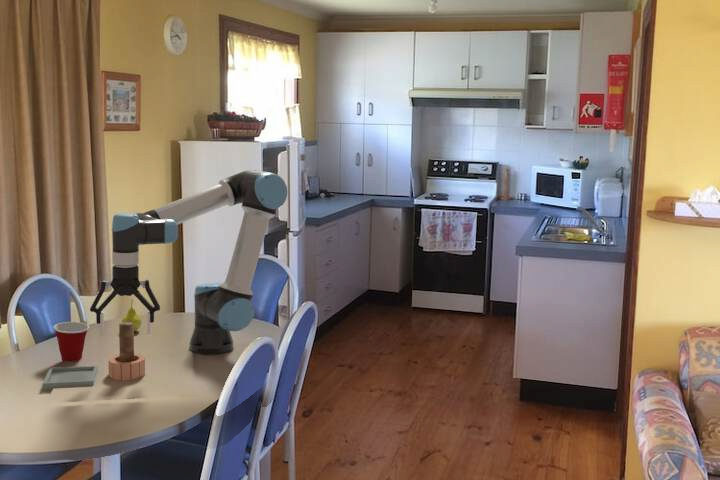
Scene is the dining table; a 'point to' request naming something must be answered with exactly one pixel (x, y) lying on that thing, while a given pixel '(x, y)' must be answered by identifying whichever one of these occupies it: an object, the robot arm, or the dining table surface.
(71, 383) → the dish
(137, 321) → the fruit
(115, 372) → the pink brick ring
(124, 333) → the dowel
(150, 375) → the dining table surface
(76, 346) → the plastic cup
